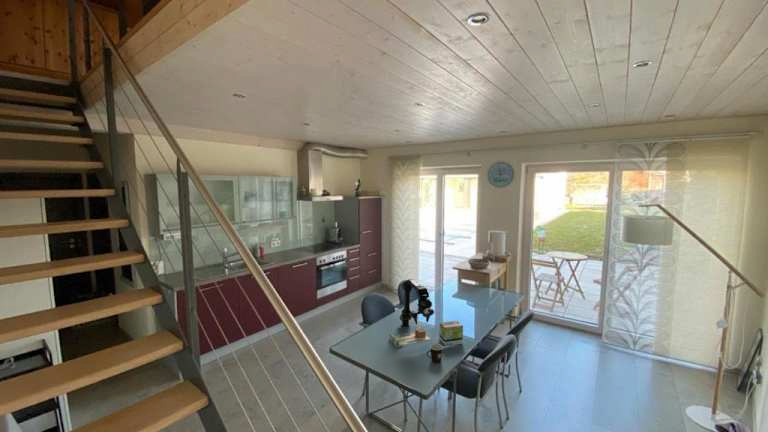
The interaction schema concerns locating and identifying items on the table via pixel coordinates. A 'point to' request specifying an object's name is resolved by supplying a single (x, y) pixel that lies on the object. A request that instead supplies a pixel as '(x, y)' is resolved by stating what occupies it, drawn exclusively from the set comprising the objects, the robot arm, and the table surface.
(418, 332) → the walnut block
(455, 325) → the tea box
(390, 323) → the table surface
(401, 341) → the trap board
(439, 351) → the coffee mug
